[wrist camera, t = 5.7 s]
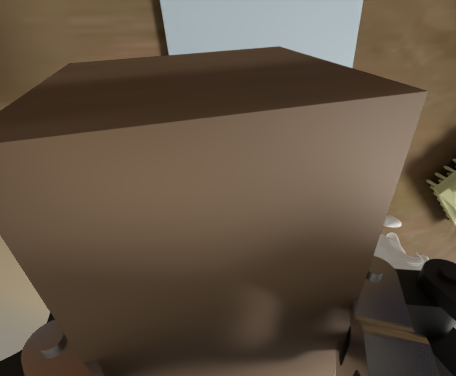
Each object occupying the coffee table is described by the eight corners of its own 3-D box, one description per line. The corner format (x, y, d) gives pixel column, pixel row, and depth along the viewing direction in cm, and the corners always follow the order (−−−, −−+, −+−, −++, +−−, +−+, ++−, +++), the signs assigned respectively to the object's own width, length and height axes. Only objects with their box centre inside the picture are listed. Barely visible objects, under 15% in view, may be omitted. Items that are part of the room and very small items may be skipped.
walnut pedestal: (69, 63, 8) (-55, 149, 3) (279, 46, 9) (428, 91, 4) (150, 312, 15) (150, 466, 10) (267, 285, 16) (320, 412, 11)
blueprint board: (158, -6, 20) (159, -7, 19) (358, -20, 23) (367, -21, 22) (193, 206, 31) (194, 212, 30) (328, 181, 33) (333, 185, 32)
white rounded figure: (310, 237, 38) (368, 318, 28) (355, 188, 35) (437, 258, 25) (340, 251, 41) (401, 328, 31) (383, 206, 38) (467, 276, 28)
